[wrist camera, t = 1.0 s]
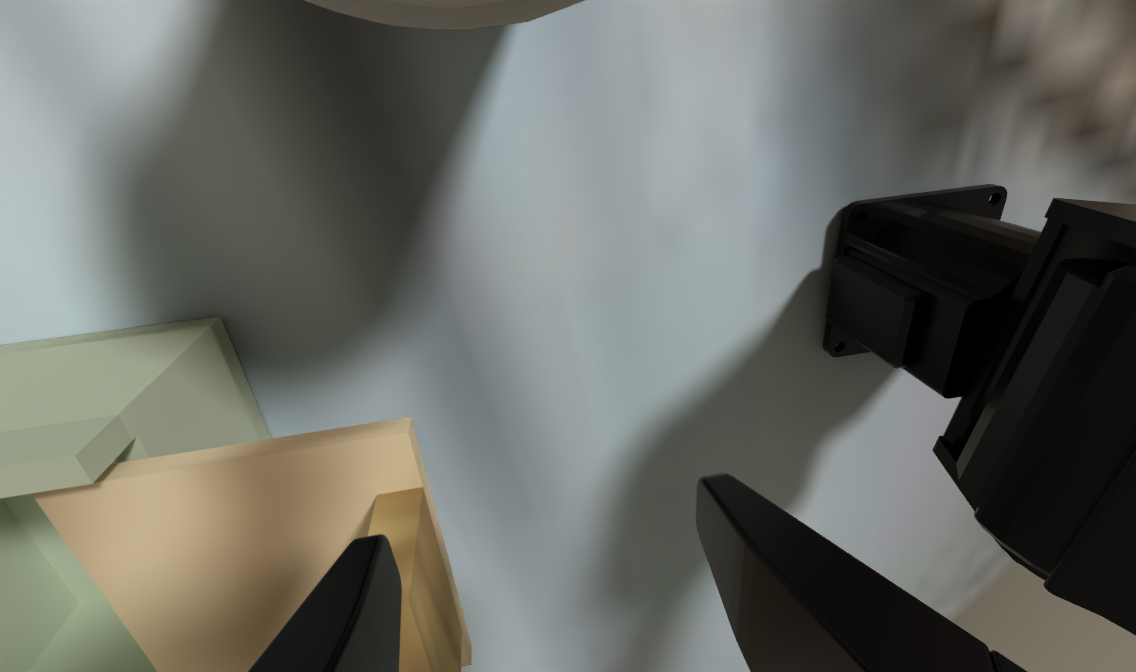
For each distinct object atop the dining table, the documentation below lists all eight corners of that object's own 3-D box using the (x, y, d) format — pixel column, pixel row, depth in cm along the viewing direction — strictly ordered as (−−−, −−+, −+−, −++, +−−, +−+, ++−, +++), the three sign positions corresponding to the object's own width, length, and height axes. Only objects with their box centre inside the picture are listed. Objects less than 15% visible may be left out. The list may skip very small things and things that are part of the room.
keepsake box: (220, 316, 19) (75, 456, 12) (321, 559, 24) (261, 750, 17) (-101, 359, 18) (-461, 538, 11) (81, 602, 23) (-83, 822, 16)
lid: (410, 417, 14) (388, 540, 10) (471, 644, 19) (470, 789, 15) (51, 473, 13) (-114, 629, 10) (203, 698, 18) (130, 866, 14)
